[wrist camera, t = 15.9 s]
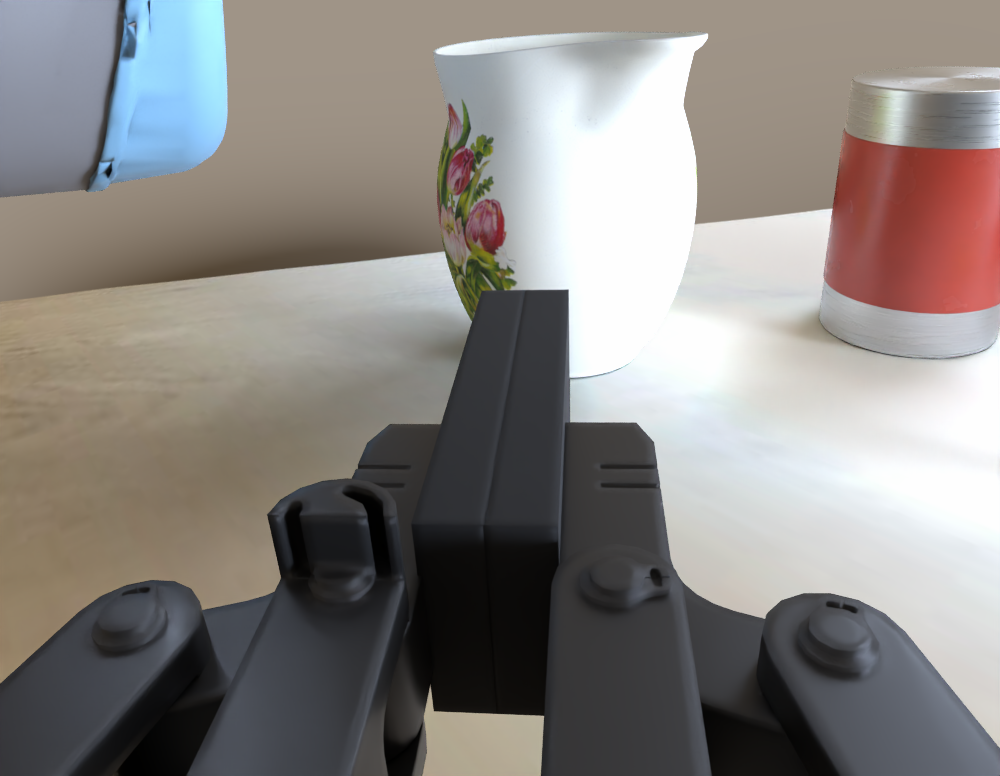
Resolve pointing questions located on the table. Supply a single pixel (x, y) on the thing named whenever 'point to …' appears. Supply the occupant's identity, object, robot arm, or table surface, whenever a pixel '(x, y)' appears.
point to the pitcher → (571, 178)
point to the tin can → (917, 214)
